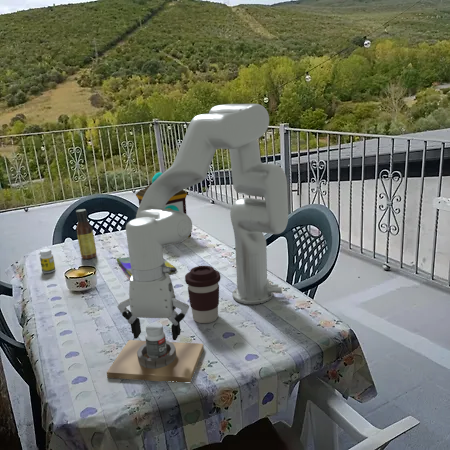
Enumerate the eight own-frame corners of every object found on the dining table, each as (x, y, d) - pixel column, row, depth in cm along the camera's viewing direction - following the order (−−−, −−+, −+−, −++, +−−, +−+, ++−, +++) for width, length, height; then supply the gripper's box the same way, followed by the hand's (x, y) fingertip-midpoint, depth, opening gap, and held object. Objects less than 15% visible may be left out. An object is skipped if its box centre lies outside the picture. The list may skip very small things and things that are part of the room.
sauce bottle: (100, 255, 184) (93, 209, 178) (88, 260, 179) (81, 213, 173) (89, 253, 188) (82, 207, 182) (77, 258, 183) (70, 211, 177)
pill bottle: (163, 363, 106) (160, 332, 104) (144, 361, 107) (141, 331, 105) (169, 352, 111) (167, 322, 108) (151, 350, 112) (148, 320, 109)
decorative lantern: (172, 228, 216) (167, 166, 207) (196, 237, 201) (191, 171, 192) (135, 238, 204) (127, 173, 195) (157, 248, 189) (150, 178, 180)
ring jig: (203, 348, 114) (202, 336, 113) (190, 383, 101) (189, 370, 100) (129, 344, 118) (128, 333, 117) (107, 377, 105) (105, 364, 104)
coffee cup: (210, 329, 123) (206, 279, 119) (181, 321, 128) (177, 273, 124) (229, 314, 131) (226, 266, 127) (201, 306, 136) (198, 261, 132)
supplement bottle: (39, 272, 170) (35, 251, 167) (48, 267, 174) (45, 247, 172) (49, 273, 168) (45, 252, 166) (58, 269, 172) (54, 248, 170)
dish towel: (158, 254, 184) (157, 247, 183) (178, 273, 163) (178, 266, 162) (115, 262, 177) (114, 256, 176) (131, 284, 156) (131, 277, 155)
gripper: (189, 265, 104) (195, 329, 110) (119, 264, 108) (128, 327, 113) (180, 278, 97) (187, 346, 103) (106, 277, 101) (116, 343, 106)
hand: (156, 336), depth 108 cm, fingers open, 9 cm apart
